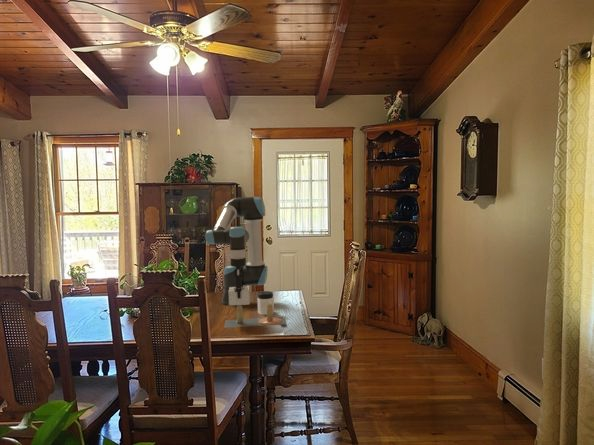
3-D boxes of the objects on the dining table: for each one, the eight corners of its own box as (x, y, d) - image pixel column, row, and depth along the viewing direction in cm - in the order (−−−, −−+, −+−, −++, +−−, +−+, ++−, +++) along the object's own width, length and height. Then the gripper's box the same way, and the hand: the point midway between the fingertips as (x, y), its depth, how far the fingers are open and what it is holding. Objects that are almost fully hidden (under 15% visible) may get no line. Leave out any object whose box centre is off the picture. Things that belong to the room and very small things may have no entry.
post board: (224, 329, 204) (223, 309, 204) (225, 321, 218) (225, 302, 218) (286, 326, 208) (285, 306, 207) (283, 318, 222) (283, 299, 221)
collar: (229, 305, 206) (228, 291, 206) (229, 300, 216) (229, 287, 216) (249, 304, 208) (249, 290, 207) (249, 299, 217) (249, 286, 217)
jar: (276, 315, 229) (275, 293, 228) (262, 317, 225) (261, 295, 225) (269, 311, 237) (269, 290, 236) (256, 313, 233) (255, 292, 233)
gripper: (231, 255, 221) (232, 297, 223) (229, 261, 199) (231, 308, 200) (245, 254, 222) (247, 296, 224) (245, 260, 200) (246, 307, 201)
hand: (239, 302), depth 212 cm, fingers closed on collar, 10 cm apart
